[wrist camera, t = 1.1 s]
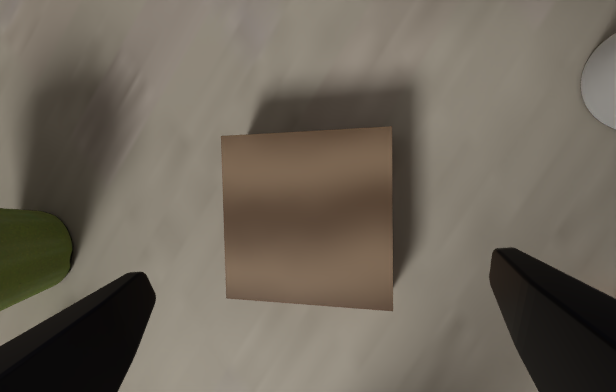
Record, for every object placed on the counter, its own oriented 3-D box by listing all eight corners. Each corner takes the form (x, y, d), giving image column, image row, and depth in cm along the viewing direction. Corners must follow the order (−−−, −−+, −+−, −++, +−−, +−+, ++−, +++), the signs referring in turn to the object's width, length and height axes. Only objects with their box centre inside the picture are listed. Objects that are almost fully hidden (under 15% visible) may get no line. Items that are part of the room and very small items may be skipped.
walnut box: (391, 288, 23) (393, 311, 19) (250, 280, 25) (226, 298, 22) (390, 135, 22) (391, 126, 18) (246, 142, 25) (221, 136, 21)
